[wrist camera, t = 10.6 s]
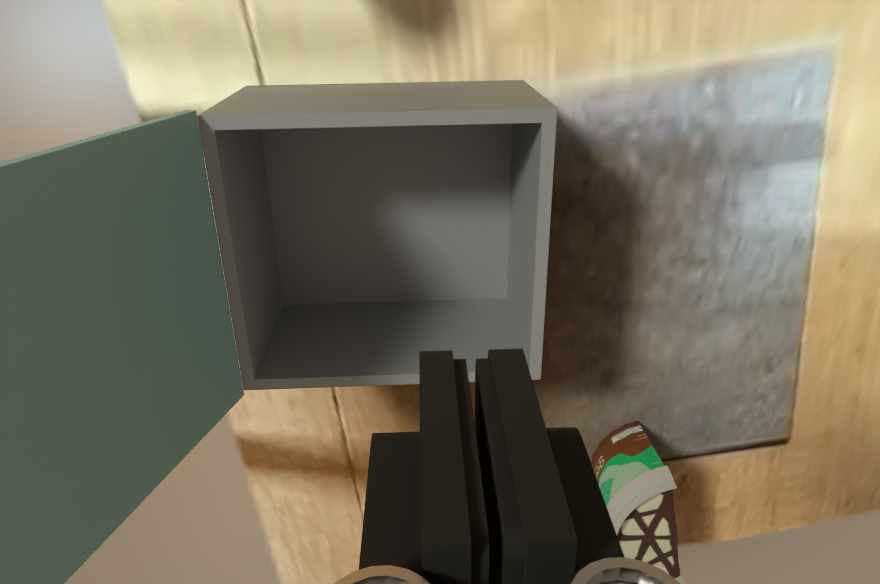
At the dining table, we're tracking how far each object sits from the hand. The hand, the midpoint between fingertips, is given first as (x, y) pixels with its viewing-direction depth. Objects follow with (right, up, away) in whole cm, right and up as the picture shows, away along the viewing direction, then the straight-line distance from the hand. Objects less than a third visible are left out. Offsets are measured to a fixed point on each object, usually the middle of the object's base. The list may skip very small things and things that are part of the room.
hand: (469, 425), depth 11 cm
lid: (-16, -1, +20) cm, 26 cm away
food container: (+16, -15, +52) cm, 57 cm away
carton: (-4, +9, +40) cm, 41 cm away
